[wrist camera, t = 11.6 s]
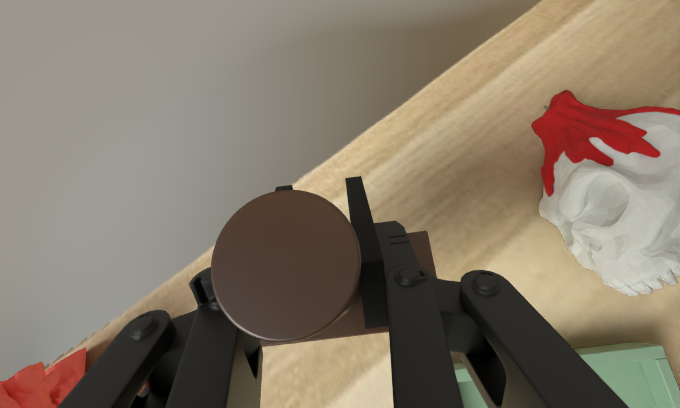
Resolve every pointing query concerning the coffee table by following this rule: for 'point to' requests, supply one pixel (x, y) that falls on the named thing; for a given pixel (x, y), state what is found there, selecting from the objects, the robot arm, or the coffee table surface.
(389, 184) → the coffee table surface
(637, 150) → the candle
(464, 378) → the tray
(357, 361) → the coffee table surface
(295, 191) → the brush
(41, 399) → the heart organ
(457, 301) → the robot arm
